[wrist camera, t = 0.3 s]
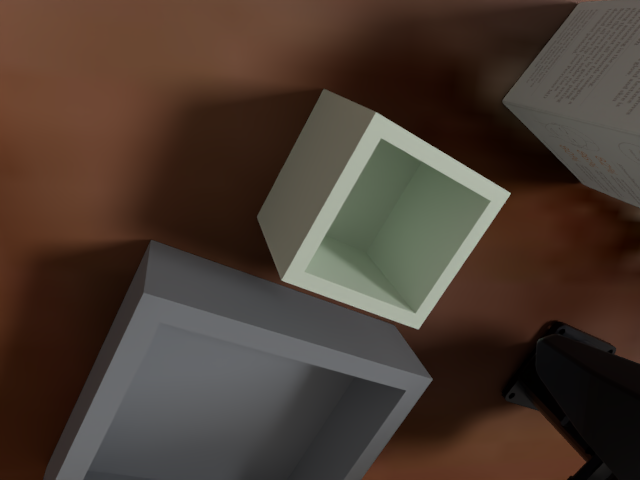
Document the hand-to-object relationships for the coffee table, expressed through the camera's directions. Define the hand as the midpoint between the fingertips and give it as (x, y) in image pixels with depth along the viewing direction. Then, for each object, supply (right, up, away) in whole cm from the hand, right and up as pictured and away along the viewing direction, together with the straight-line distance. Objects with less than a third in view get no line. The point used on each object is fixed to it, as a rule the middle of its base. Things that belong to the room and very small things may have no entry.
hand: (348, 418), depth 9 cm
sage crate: (+1, +6, +12) cm, 14 cm away
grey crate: (-6, -5, +15) cm, 17 cm away
